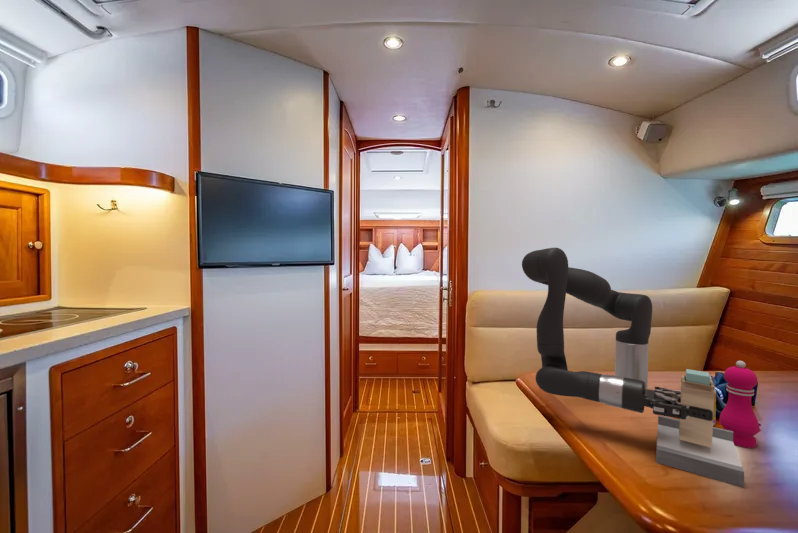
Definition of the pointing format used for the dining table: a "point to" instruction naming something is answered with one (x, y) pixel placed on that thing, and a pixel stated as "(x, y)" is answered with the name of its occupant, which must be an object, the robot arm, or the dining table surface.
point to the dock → (699, 453)
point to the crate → (694, 427)
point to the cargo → (697, 377)
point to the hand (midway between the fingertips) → (710, 410)
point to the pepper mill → (740, 405)
